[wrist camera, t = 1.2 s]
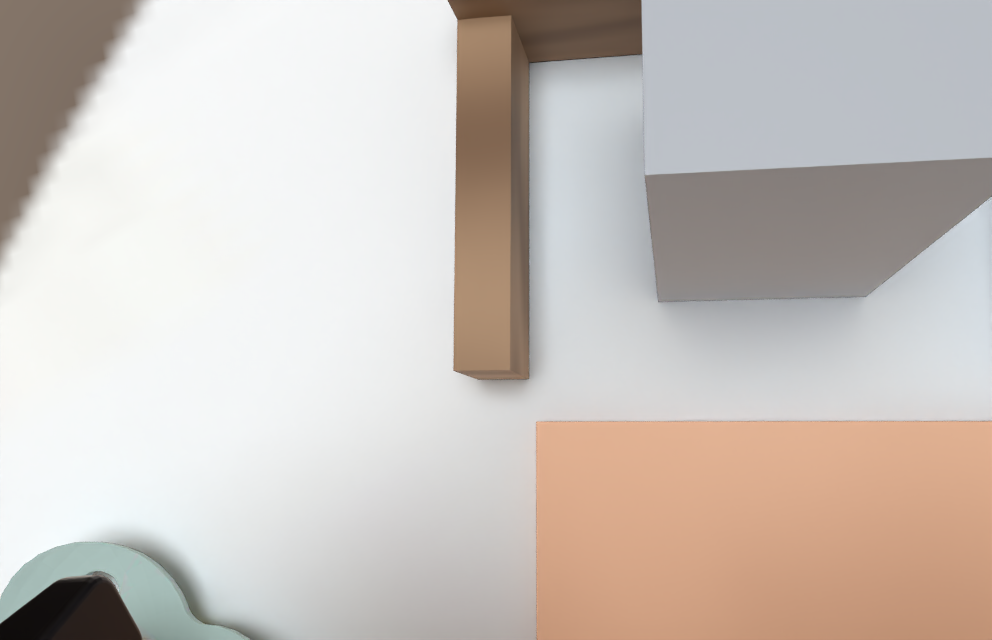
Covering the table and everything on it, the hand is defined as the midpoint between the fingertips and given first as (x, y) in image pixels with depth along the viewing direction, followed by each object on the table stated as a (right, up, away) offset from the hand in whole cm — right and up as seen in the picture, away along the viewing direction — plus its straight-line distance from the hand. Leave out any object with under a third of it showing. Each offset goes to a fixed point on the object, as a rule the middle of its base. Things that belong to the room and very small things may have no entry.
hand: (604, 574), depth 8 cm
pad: (+5, -5, +12) cm, 14 cm away
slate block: (+5, +5, +13) cm, 15 cm away
